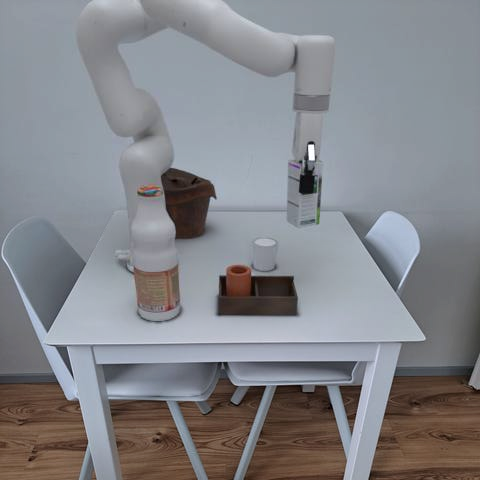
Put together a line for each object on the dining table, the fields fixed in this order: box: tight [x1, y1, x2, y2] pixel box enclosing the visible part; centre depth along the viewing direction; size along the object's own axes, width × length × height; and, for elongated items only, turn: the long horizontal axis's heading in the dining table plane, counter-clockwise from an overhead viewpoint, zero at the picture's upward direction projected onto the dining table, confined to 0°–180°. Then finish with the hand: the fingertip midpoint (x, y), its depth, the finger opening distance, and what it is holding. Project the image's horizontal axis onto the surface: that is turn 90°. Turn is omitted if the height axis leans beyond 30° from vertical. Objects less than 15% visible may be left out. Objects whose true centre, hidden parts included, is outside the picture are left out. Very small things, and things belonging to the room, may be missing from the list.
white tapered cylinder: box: [251, 237, 279, 272], centre depth 130 cm, size 7×7×7 cm
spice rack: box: [218, 274, 299, 316], centre depth 113 cm, size 17×9×6 cm, turn 91°
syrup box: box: [286, 158, 324, 229], centre depth 113 cm, size 6×6×14 cm
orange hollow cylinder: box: [225, 264, 252, 296], centre depth 112 cm, size 6×6×9 cm
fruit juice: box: [131, 185, 181, 322], centre depth 104 cm, size 9×9×28 cm
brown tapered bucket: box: [161, 167, 218, 239], centre depth 148 cm, size 18×20×18 cm
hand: (303, 187), depth 112 cm, fingers closed on syrup box, 7 cm apart
